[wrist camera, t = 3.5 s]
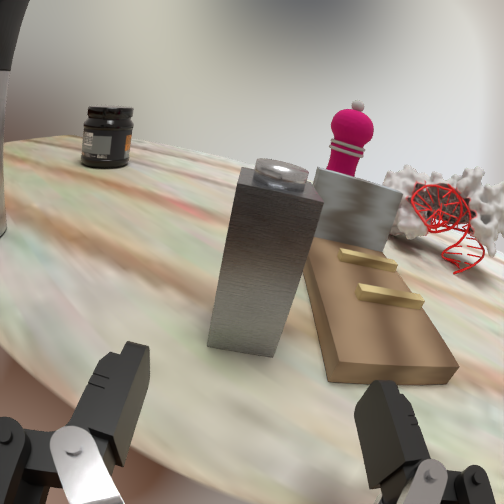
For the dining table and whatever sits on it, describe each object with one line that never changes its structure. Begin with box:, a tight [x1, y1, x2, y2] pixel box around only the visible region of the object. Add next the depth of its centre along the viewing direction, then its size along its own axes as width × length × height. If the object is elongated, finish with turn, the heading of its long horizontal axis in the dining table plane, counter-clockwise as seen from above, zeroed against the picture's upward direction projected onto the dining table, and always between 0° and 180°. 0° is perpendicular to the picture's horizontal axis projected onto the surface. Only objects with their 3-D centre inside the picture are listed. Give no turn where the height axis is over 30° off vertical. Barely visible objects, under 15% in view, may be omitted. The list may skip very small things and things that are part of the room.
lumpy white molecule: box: [383, 165, 504, 274], centre depth 45 cm, size 20×18×25 cm
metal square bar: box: [207, 158, 324, 357], centre depth 19 cm, size 4×4×12 cm
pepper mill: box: [326, 100, 374, 177], centre depth 41 cm, size 7×7×20 cm
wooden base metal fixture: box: [303, 167, 459, 385], centre depth 27 cm, size 11×22×10 cm, turn 179°
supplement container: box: [81, 106, 134, 168], centre depth 54 cm, size 10×10×12 cm
